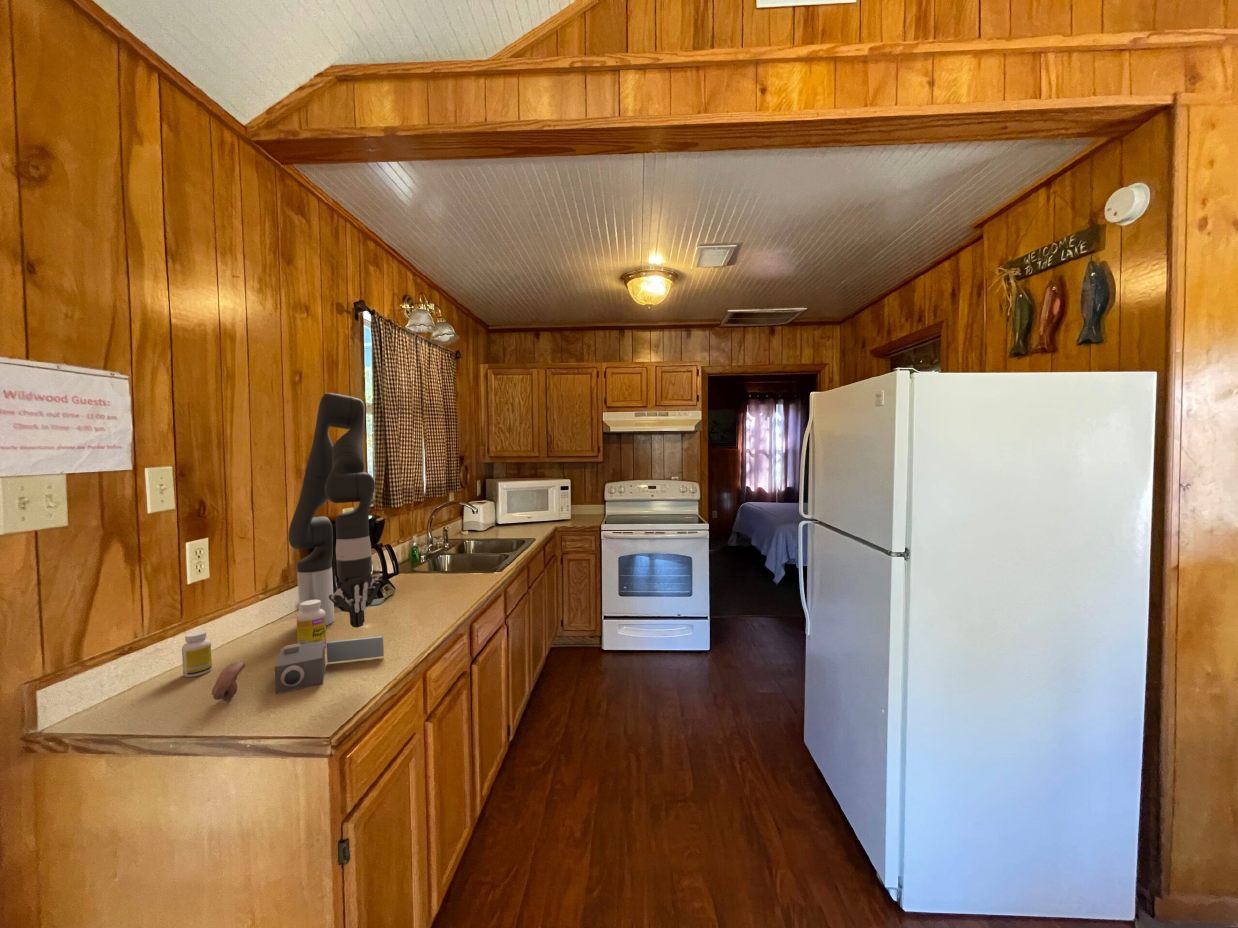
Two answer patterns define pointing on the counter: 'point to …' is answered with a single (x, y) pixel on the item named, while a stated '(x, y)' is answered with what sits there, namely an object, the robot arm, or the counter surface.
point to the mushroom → (227, 682)
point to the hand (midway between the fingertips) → (357, 626)
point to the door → (355, 649)
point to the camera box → (300, 666)
